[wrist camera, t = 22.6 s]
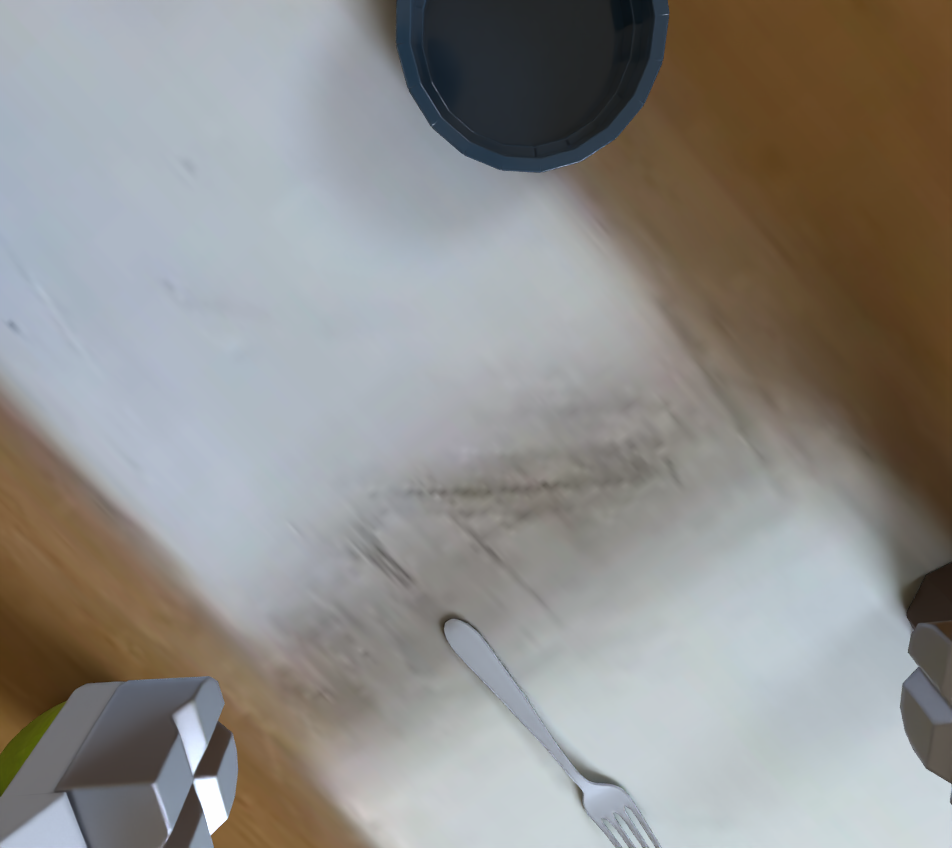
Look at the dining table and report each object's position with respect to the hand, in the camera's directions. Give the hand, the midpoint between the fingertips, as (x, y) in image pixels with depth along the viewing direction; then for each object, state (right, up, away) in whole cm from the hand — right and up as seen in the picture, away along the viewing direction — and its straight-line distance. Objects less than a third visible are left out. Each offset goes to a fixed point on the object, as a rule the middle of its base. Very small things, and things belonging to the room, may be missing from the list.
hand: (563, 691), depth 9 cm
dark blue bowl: (+1, +21, +25) cm, 33 cm away
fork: (+4, -18, +41) cm, 45 cm away
